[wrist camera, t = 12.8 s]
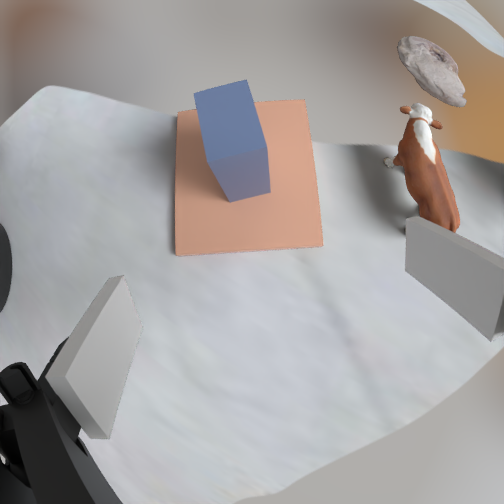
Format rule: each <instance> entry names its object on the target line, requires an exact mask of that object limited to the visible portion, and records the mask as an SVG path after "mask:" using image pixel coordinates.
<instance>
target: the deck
mask: <svg viewBox="0 0 504 504" xmlns="http://www.w3.org/2000/svg"><path fill="white" fill-rule="evenodd" d="M194 98H195V103H196V108H197V114H198V119H199V124H200V129H201V134H202V139H203V144H204V149H205V154H206V158H207V163H208V164H209V166H210V168H211V170H212V172H213V173H214V175H215V177H216V179H217V180H218V182H219V184H220V186H221V188H222V189H223V191H224V193H225V195H226V196H227V198H228V200H229V202H230V203H231V202H235V201H239V200H243V199H247V198H251V197H255V196H259V195H263V194H267V193H271V189H270V175H269V162H268V150H267V144H266V141H265V138H264V134H263V131H262V127H261V124H260V121H259V118H258V114H257V111H256V108H255V105H254V102H253V98H252V95H251V92H250V89H249V86H248V82H247V80H243V81H238V82H234V83H230V84H227V85H223V86H219V87H215V88H211V89H207V90H204V91H200V92H197V93H194Z"/></svg>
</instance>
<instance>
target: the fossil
mask: <svg viewBox="0 0 504 504" xmlns="http://www.w3.org/2000/svg"><path fill="white" fill-rule="evenodd" d="M397 48H398V53H399V57H400V60H401V62H402V63H403V64H404V65H405V67H406V68H407V69H408V71H410V72H411V73H412V75H413V76H414V77H415V79H416V81H417V83H418V84H419V85H420V86H421V88H422V89H424V90H425V91H427V92H428V93H429V94H430V95H432V96H433V97H436V98H437V99H439V100H441V101H443V102H445V103H447V104H449V105H452V106H456V107H463V106H465V104H466V102H467V101H466V99H464V98H463V97H462V95H463V94H464V92H465V88H464V86H463V84H462V82H461V81H460V79H459V77H458V76H457V74H458V66H457V64H456V63H455V61H454V60H453V58H452V57H451V56H450V55H449V54H448V53H447V52H446V51H445V50H444V49H442V48H441V47H439V46H438V45H436V44H434V43H432V42H430V41H428V40H425V39H423V38H420V37H416V36H409V37H403V38H402V39H401V40H400V41H399V42H398V46H397Z"/></svg>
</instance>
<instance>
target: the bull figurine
mask: <svg viewBox="0 0 504 504" xmlns="http://www.w3.org/2000/svg"><path fill="white" fill-rule="evenodd" d="M400 111H401V112H402V113H405V114H409V115H410V118H409V121H408V123H407V126H406V129H405V132H404V135H403V139H402V140H401V141H400V142H399V145H398V154H397V156H394V157H393V158H392V159H390V158H384V164H385V165H387V166H388V167H391V168H393V166H394V165H396V166H403V167H404V170H405V180H406V185H407V189H408V191H409V193H410V195H411V196H412V197H413V199H414V200H415V201H416V202H417V203H418V205H419V214H420V217H421V218H424V219H426V220H428V221H430V222H433V223H435V224H437V225H439V226H441V227H443V228H445V229H448V230H450V231H452V232H454V233H455V232H456V229H458V227H459V225H460V217H459V212H458V208H457V205H456V201H455V196H454V193H453V190H452V188H451V186H450V183H449V180H448V177H447V174H446V170H445V168H444V165H443V163H442V160H441V156H440V152H439V149H438V147H437V145H436V144H435V142H434V141H433V139H432V133H431V130H430V128H429V125H430V126H432V127H434V128H436V129H442V128H443V126H442V124H441V123H440V122H439V121H435V120H433V119H432V118H431V117H432V112H431V110H430V109H429V108H428V107H426V106H423V105H422V104H420V103H415V104H413V105H412V106H411V108H410V107H408V106H403V107H401V108H400ZM405 233H406V228H405Z"/></svg>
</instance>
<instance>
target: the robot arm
mask: <svg viewBox="0 0 504 504" xmlns="http://www.w3.org/2000/svg"><path fill="white" fill-rule="evenodd" d="M405 271H406V272H407V273H409V274H410V275H411V276H412V277H414V278H415V279H416V280H418V281H419V282H420V283H421V284H423V285H424V286H425V287H427V288H428V289H429V290H430V291H432V292H433V293H434V294H435V295H436V296H438V297H439V298H440V299H441V300H443V301H444V302H445V303H446V304H448V305H449V306H450V307H451V308H452V309H454V310H455V311H456V312H457V313H458V314H459V315H461V316H462V317H463V318H464V319H465V320H467V321H468V322H469V323H470V324H471V325H472V326H473V327H475V328H476V329H477V330H478V331H479V332H480V333H481V334H483V335H484V336H485V337H486V338H487V339H488V340H489V341H490V342H492V341H494V340H496V339H497V338H499V337H501V336H502V335H503V334H504V258H503V257H501V256H499V255H497V254H495V253H493V252H492V251H490V250H488V249H486V248H484V247H482V246H480V245H478V244H476V243H474V242H472V241H470V240H468V239H466V238H464V237H462V236H460V235H458V234H456V233H454V232H452V231H450V230H448V229H445V228H443V227H441V226H439V225H437V224H435V223H433V222H430V221H428V220H426V219H424V218H421V217H419V216H415V217H410V218H406V260H405ZM11 275H12V257H11V248H10V243H9V239H8V236H7V234H6V231H5V229H4V228H3V226H2V225H1V224H0V312H1V311H2V309H3V307H4V305H5V303H6V300H7V297H8V294H9V290H10V284H11ZM142 330H143V325H142V322H141V320H140V317H139V315H138V312H137V310H136V307H135V304H134V302H133V299H132V296H131V294H130V291H129V288H128V285H127V282H126V280H125V277H124V275H122V276H117V277H112V278H109V279H108V280H107V282H106V283H105V285H104V286H103V287H102V289H101V290H100V292H99V293H98V295H97V296H96V297H95V299H94V300H93V302H92V303H91V305H90V306H89V308H88V309H87V311H86V312H85V314H84V315H83V317H82V318H81V320H80V321H79V323H78V324H77V326H76V327H75V329H74V330H73V332H72V333H71V335H70V337H68V338H66V339H65V340H64V341H63V342H62V343H61V344H60V345H59V346H58V348H57V349H56V351H55V353H54V355H53V356H52V358H51V359H50V363H48V364H47V366H46V367H45V369H44V371H43V372H42V374H41V376H40V377H39V379H38V381H37V380H36V379H35V377H34V376H33V374H32V373H31V371H30V369H29V368H28V366H27V365H26V363H23V362H17V363H14V364H11V365H9V366H8V367H6V368H5V369H3V370H2V371H1V372H0V393H1V394H2V395H3V397H4V398H5V399H6V401H7V402H8V403H9V404H7V405H3V406H0V454H2V456H3V457H4V458H5V459H6V460H5V462H6V463H5V464H3V463H2V460H1V458H0V504H123V503H122V502H121V501H120V499H119V498H118V497H117V495H116V494H115V492H114V491H113V489H112V488H111V486H110V485H109V484H108V482H107V481H106V479H105V477H104V476H103V474H102V473H101V471H100V470H99V468H98V466H97V465H96V463H95V462H94V460H93V458H92V456H91V455H90V453H89V451H88V450H87V448H86V446H85V444H84V442H83V441H82V440H81V439H80V438H79V437H78V435H79V432H80V429H81V428H82V429H83V430H84V432H85V433H86V434H87V435H88V436H89V438H91V439H110V436H111V432H112V428H113V424H114V421H115V417H116V413H117V410H118V406H119V403H120V399H121V396H122V392H123V389H124V386H125V382H126V379H127V376H128V373H129V369H130V366H131V363H132V360H133V357H134V354H135V351H136V348H137V345H138V342H139V339H140V336H141V333H142Z"/></svg>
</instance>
